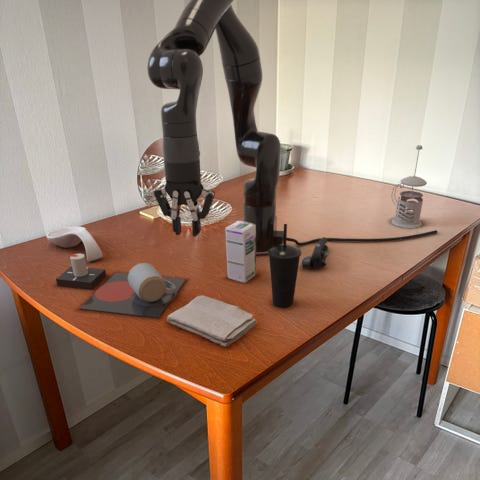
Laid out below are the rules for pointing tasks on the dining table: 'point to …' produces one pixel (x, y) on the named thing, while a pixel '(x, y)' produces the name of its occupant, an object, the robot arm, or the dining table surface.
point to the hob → (128, 298)
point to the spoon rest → (76, 240)
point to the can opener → (317, 255)
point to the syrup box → (241, 251)
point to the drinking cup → (283, 272)
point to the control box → (81, 278)
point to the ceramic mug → (149, 283)
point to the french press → (409, 202)
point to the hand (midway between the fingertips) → (187, 234)
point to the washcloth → (213, 320)
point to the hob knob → (79, 265)
